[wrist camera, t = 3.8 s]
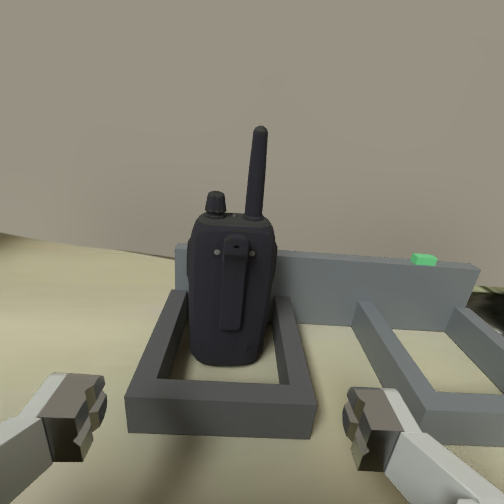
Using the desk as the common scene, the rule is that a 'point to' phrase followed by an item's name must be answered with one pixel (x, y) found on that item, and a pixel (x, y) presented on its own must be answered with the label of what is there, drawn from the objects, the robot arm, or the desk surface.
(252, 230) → the two-way radio
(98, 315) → the desk surface
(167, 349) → the grey rectangular frame
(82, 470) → the desk surface
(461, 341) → the dock
